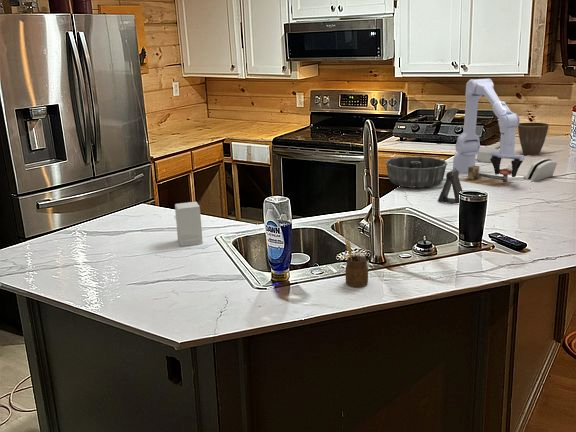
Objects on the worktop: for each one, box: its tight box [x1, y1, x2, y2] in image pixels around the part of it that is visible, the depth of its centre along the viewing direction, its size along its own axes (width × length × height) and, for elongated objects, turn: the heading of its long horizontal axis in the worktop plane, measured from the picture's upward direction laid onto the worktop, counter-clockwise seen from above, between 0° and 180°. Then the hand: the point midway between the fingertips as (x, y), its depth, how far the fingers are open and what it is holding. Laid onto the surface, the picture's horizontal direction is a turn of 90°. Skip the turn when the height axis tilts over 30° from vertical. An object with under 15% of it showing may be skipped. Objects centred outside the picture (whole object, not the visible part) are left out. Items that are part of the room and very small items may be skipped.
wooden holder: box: [465, 165, 481, 181], centre depth 268 cm, size 4×6×6 cm, turn 132°
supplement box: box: [174, 201, 204, 247], centre depth 199 cm, size 7×7×13 cm
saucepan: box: [476, 145, 500, 164], centre depth 313 cm, size 12×20×6 cm, turn 138°
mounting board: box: [459, 176, 515, 188], centre depth 265 cm, size 20×12×1 cm, turn 42°
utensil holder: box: [344, 237, 369, 288], centre depth 161 cm, size 6×6×12 cm
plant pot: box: [517, 122, 550, 156], centre depth 319 cm, size 15×15×16 cm
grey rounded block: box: [522, 158, 558, 182], centre depth 269 cm, size 17×5×10 cm, turn 128°
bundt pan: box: [385, 156, 448, 189], centre depth 267 cm, size 26×26×10 cm
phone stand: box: [437, 169, 463, 204], centre depth 237 cm, size 9×6×12 cm, turn 57°
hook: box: [477, 168, 512, 182], centre depth 261 cm, size 15×5×5 cm, turn 42°
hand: (505, 175), depth 257 cm, fingers open, 7 cm apart
